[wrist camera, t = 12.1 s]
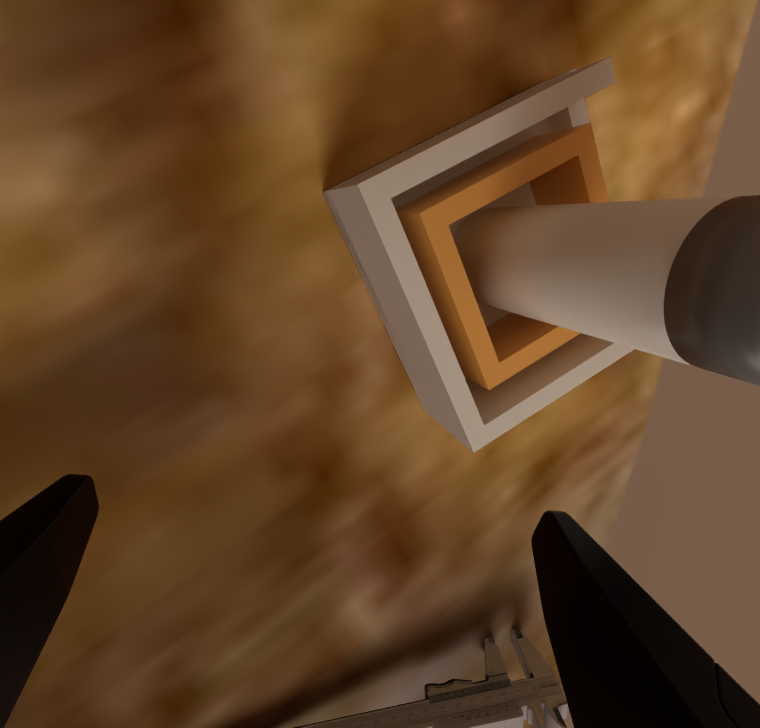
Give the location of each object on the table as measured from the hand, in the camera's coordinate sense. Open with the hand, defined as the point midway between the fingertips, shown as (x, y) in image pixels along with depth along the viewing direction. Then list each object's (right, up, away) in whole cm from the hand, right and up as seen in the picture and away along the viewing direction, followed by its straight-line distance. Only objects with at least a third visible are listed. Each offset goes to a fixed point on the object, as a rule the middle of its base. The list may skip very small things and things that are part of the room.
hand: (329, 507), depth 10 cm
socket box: (+5, +8, +12) cm, 15 cm away
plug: (+6, +7, +11) cm, 15 cm away
